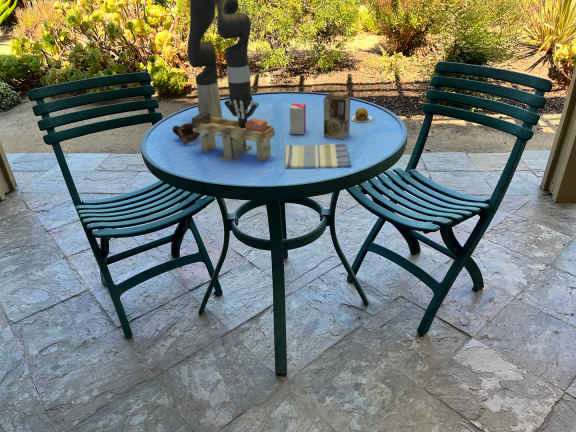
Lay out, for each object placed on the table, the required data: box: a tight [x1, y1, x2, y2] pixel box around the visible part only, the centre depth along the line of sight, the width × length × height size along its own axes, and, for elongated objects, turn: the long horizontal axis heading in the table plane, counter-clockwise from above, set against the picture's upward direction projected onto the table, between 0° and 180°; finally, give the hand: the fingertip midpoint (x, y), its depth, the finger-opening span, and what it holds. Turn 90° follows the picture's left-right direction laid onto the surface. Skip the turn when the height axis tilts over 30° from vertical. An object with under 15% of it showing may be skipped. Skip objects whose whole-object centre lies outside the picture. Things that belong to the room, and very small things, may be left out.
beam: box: [190, 112, 276, 143], centre depth 152 cm, size 30×8×5 cm, turn 66°
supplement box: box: [289, 102, 307, 136], centre depth 170 cm, size 6×6×12 cm
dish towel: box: [284, 142, 352, 170], centre depth 152 cm, size 17×24×3 cm
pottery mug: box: [172, 122, 202, 146], centre depth 169 cm, size 12×10×8 cm
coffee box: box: [323, 92, 351, 140], centre depth 165 cm, size 9×6×16 cm
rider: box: [245, 118, 268, 134], centre depth 148 cm, size 6×5×4 cm
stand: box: [199, 133, 272, 163], centre depth 155 cm, size 26×13×10 cm, turn 66°
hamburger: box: [351, 107, 373, 123], centre depth 182 cm, size 12×12×6 cm
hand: (243, 127), depth 150 cm, fingers closed
